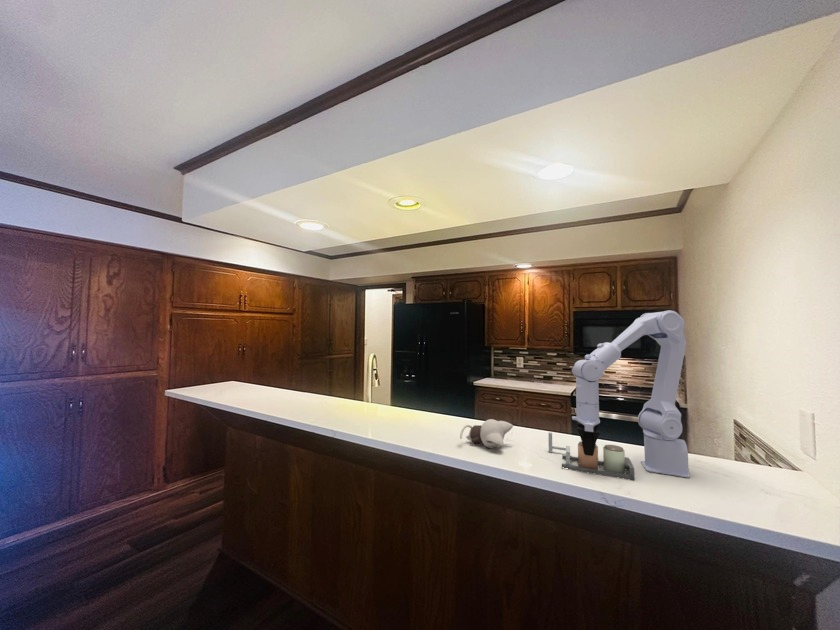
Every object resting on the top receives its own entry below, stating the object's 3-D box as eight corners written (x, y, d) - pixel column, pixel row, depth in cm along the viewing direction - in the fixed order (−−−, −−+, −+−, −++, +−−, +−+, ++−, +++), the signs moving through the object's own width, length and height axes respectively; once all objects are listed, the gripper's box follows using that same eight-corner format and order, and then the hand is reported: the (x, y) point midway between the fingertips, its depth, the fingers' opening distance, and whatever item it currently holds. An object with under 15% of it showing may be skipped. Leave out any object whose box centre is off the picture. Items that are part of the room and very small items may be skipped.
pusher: (570, 453, 101) (569, 434, 102) (570, 467, 90) (569, 445, 91) (548, 450, 104) (548, 431, 104) (546, 463, 93) (546, 442, 93)
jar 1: (598, 466, 92) (597, 442, 92) (598, 472, 88) (598, 447, 88) (578, 463, 94) (578, 440, 95) (577, 468, 90) (577, 444, 90)
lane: (629, 468, 91) (628, 457, 91) (634, 480, 83) (634, 468, 83) (562, 458, 98) (562, 448, 98) (561, 468, 90) (561, 457, 90)
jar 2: (623, 470, 90) (623, 445, 90) (626, 477, 85) (625, 451, 86) (602, 466, 92) (602, 443, 92) (604, 473, 87) (604, 448, 88)
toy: (463, 459, 107) (504, 459, 98) (453, 435, 107) (494, 433, 98) (478, 435, 118) (517, 434, 109) (469, 413, 117) (508, 410, 108)
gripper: (571, 397, 101) (572, 442, 99) (572, 405, 87) (572, 457, 86) (597, 399, 98) (598, 446, 97) (602, 408, 84) (602, 462, 83)
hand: (588, 451), depth 91 cm, fingers closed on jar 1, 5 cm apart
